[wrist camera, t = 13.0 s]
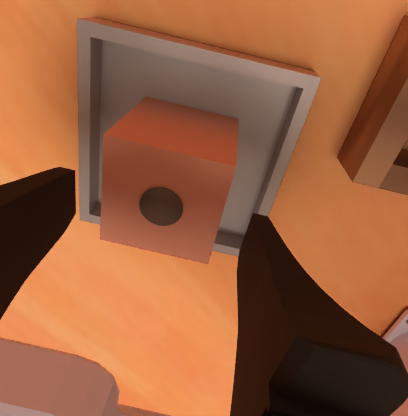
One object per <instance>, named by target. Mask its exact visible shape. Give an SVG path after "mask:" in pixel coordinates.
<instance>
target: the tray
mask: <svg viewBox="0 0 408 416" xmlns="http://www.w3.org/2000/svg"><path fill="white" fill-rule="evenodd" d="M77 52H78V128H79V205H80V220H82V221H86V222H91V223H95V224H99V225H100V224H101V194H102V165H103V135H104V134H105V133H106V132H107V131H108V130H109V129H110V128H112V127H113V126H114V125H115V124H116V123H117V122H118V121H119V120H120V119H122V118H123V117H124V116H125V115H126V114H127V113H128V112H129V111H130V110H132V109H133V108H134V107H135V106H136V105H137V104H138V103H139V102H140V101H142V100H143V99H144V98H145V97H146V96H147V97H151V98H155V99H159V100H164V101H168V102H172V103H176V104H180V105H184V106H188V107H193V108H197V109H201V110H205V111H209V112H213V113H217V114H222V115H226V116H230V117H234V118H238V119H239V125H238V145H237V165H236V170H235V173H234V177H233V180H232V183H231V187H230V190H229V194H228V197H227V201H226V204H225V207H224V211H223V214H222V218H221V221H220V225H219V228H218V231H217V235H216V238H215V242H214V245H213V249H212V251H216V252H221V253H225V254H229V255H234V256H238V257H239V250H240V248H241V245H242V242H243V239H244V236H245V233H246V231H247V228H248V225H249V222H250V219H251V216H252V213H256V214H260V215H264V216H268V215H269V213H270V210H271V207H272V205H273V202H274V200H275V197H276V195H277V192H278V189H279V187H280V184H281V182H282V179H283V177H284V174H285V171H286V169H287V166H288V164H289V161H290V158H291V156H292V153H293V151H294V148H295V146H296V143H297V140H298V138H299V135H300V133H301V130H302V128H303V125H304V122H305V120H306V117H307V115H308V112H309V109H310V107H311V104H312V102H313V99H314V97H315V94H316V91H317V89H318V86H319V84H320V81H321V77H320V76H319V75H318V74H317V73H316V72H315V71H313V70H309V69H305V68H301V67H297V66H293V65H289V64H285V63H281V62H277V61H273V60H268V59H264V58H260V57H256V56H252V55H248V54H244V53H240V52H236V51H232V50H227V49H223V48H219V47H215V46H211V45H207V44H203V43H199V42H195V41H191V40H187V39H182V38H178V37H174V36H170V35H166V34H162V33H158V32H154V31H150V30H146V29H141V28H137V27H133V26H129V25H125V24H121V23H117V22H113V21H109V20H105V19H100V18H96V17H91V18H77Z"/></svg>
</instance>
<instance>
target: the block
mask: <svg viewBox="0 0 408 416" xmlns="http://www.w3.org/2000/svg"><path fill="white" fill-rule="evenodd" d="M238 125H239V119H238V118H234V117H230V116H226V115H222V114H217V113H213V112H209V111H205V110H201V109H197V108H193V107H188V106H184V105H180V104H176V103H172V102H168V101H164V100H159V99H155V98H151V97H147V96H146V97H145V98H144V99H143V100H142V101H140V102H139V103H138V104H137V105H136V106H135V107H134V108H133V109H132V110H130V111H129V112H128V113H127V114H126V115H125V116H124V117H123V118H122V119H120V120H119V121H118V122H117V123H116V124H115V125H114V126H113V127H112V128H110V129H109V130H108V131H107V132H106V133H105V134H104V135H103V165H102V194H101V224H100V239H101V240H105V241H110V242H114V243H118V244H123V245H127V246H131V247H136V248H140V249H144V250H149V251H153V252H157V253H162V254H166V255H170V256H175V257H179V258H183V259H188V260H192V261H196V262H201V263H205V264H208V262H209V259H210V255H211V252H212V249H213V245H214V242H215V238H216V235H217V231H218V228H219V225H220V221H221V218H222V214H223V211H224V207H225V204H226V201H227V197H228V194H229V190H230V187H231V183H232V180H233V177H234V173H235V170H236V165H237V145H238Z"/></svg>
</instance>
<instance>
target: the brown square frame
mask: <svg viewBox="0 0 408 416" xmlns="http://www.w3.org/2000/svg"><path fill="white" fill-rule="evenodd" d="M407 138H408V16H404V18H403V20H402V22H401V24H400V26H399V29H398V31H397V33H396V35H395V37H394V39H393V41H392V43H391V45H390V48H389V50H388V52H387V54H386V56H385V58H384V60H383V62H382V64H381V66H380V69H379V71H378V73H377V75H376V77H375V79H374V81H373V83H372V85H371V88H370V90H369V92H368V94H367V96H366V98H365V100H364V102H363V104H362V106H361V109H360V111H359V113H358V115H357V117H356V119H355V121H354V123H353V125H352V127H351V130H350V132H349V134H348V136H347V138H346V140H345V142H344V144H343V146H342V149H341V151H340V153H339V155H338V157H337V158H338V160H339V161H340V163H341V164H342V166H343V168H344V169H345V171H346V172H347V174H348V176H349V177H350V179H351V180H352V182H355V183H359V184H363V185H367V186H371V187H376V188H380V189H384V190H388V191H392V192H397V193H401V194H405V195H408V150H404V149H402V147H403V145H404V144H405V142H406V140H407Z"/></svg>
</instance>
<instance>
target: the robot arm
mask: <svg viewBox="0 0 408 416" xmlns="http://www.w3.org/2000/svg"><path fill="white" fill-rule="evenodd" d="M75 213H76V197H75V170H71V169H66V168H62V167H57V168H53V169H50V170H46V171H43V172H40V173H37V174H34V175H31V176H28V177H25V178H22V179H19V180H16V181H13V182H10V183H6V184H3V185H0V319H1V318H2V316H3V314H4V313H5V311H6V309H7V308H8V306H9V305H10V303H11V301H12V300H13V298H14V297H15V295H16V294H17V292H18V291H19V289H20V288H21V286H22V285H23V283H24V282H25V280H26V279H27V278H28V276H29V275H30V274H31V272H32V271H33V270H34V269H35V268H36V266H37V265H38V264H39V263H40V261H41V260H42V259H43V258H44V257H45V255H46V254H47V253H48V252H49V251H50V249H51V248H52V247H53V246H54V245H55V243H56V242H57V241H58V240H59V238H60V237H61V236H62V235H63V233H64V232H65V230H66V229H67V227H68V226H69V224H70V222H71V220H72V219H73V217H74V215H75ZM237 296H238V339H237V352H236V363H235V374H234V384H233V394H232V403H231V412H230V416H408V309H407V310H406V311H405V312H404V313H403V314H402V315H401V316H400V317H399V319H398V320H397V321H396V322H395V323H394V325H393V326H392V327H391V328H390V329H389V330H388V332H387V333H386V334H385V335H384V336H383V337H382V338H381V337H380V336H379V335H377V334H376V333H374V332H373V331H371V330H370V329H368V328H367V327H366V326H364V325H363V324H362V323H360V322H359V321H358V320H357V319H355V318H354V317H353V316H351V315H350V314H349V313H348V312H347V311H345V310H344V309H343V308H342V307H341V306H339V305H338V304H337V303H336V302H335V301H334V300H333V299H332V298H331V297H330V296H329V295H327V294H326V293H325V292H324V291H323V290H322V289H321V288H320V287H319V286H318V285H317V284H316V282H315V281H314V280H313V279H312V278H311V277H310V276H309V275H308V274H307V273H306V271H305V270H304V269H303V268H302V267H301V265H300V264H299V263H298V261H297V260H296V259H295V257H294V256H293V255H292V253H291V252H290V251H289V249H288V248H287V246H286V245H285V243H284V242H283V240H282V239H281V237H280V235H279V234H278V232H277V231H276V229H275V227H274V226H273V224H272V222H271V221H270V219H269V217H268V216H264V215H260V214H256V213H252V216H251V219H250V222H249V225H248V228H247V231H246V233H245V236H244V239H243V242H242V245H241V248H240V250H239V257H238V267H237ZM118 398H119V389H118V387H117V384H116V381H115V378H114V377H113V375H112V374H111V373H110V372H109V371H107V370H106V369H105V368H104V367H102V366H101V365H100V364H99V363H97V362H94V361H92V360H89V359H86V358H84V357H81V356H79V355H75V354H70V353H66V352H62V351H57V350H53V349H49V348H44V347H40V346H35V345H31V344H27V343H22V342H18V341H14V340H9V339H5V338H0V416H170V415H165V414H161V413H157V412H152V411H148V410H143V409H139V408H134V407H130V406H126V405H121V404H118Z"/></svg>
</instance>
